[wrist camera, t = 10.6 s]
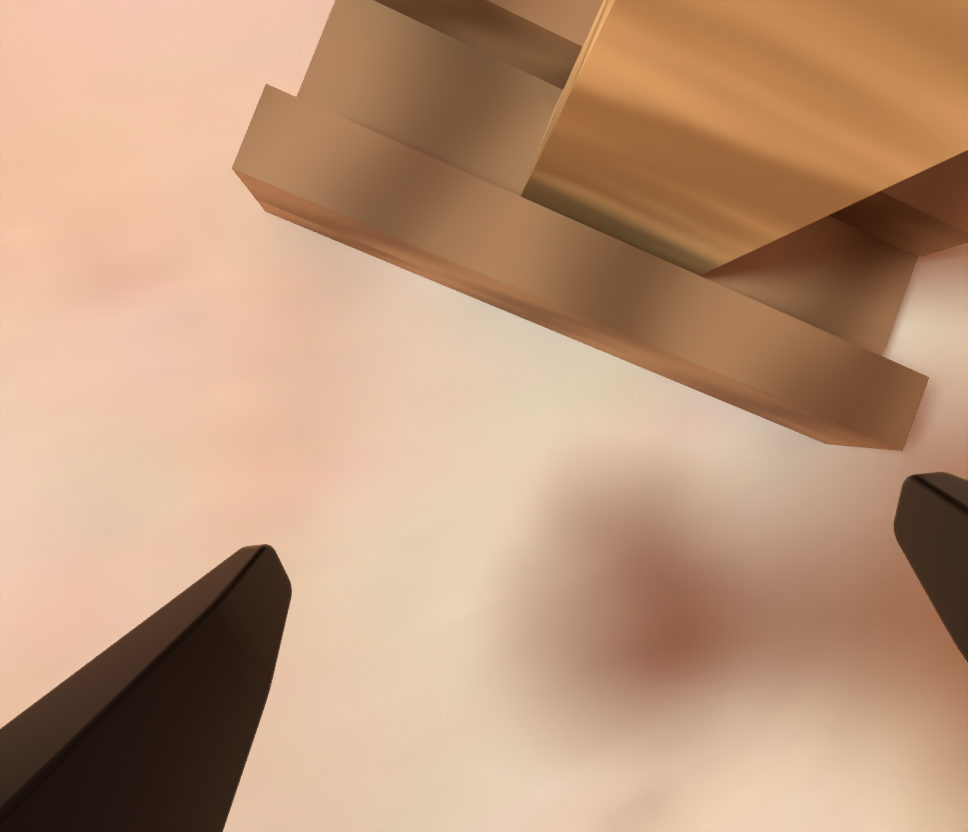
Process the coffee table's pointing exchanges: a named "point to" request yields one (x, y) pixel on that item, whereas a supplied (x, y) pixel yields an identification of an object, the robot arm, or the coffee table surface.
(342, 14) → the walnut rail
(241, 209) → the coffee table surface
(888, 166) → the oak stave
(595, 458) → the coffee table surface
